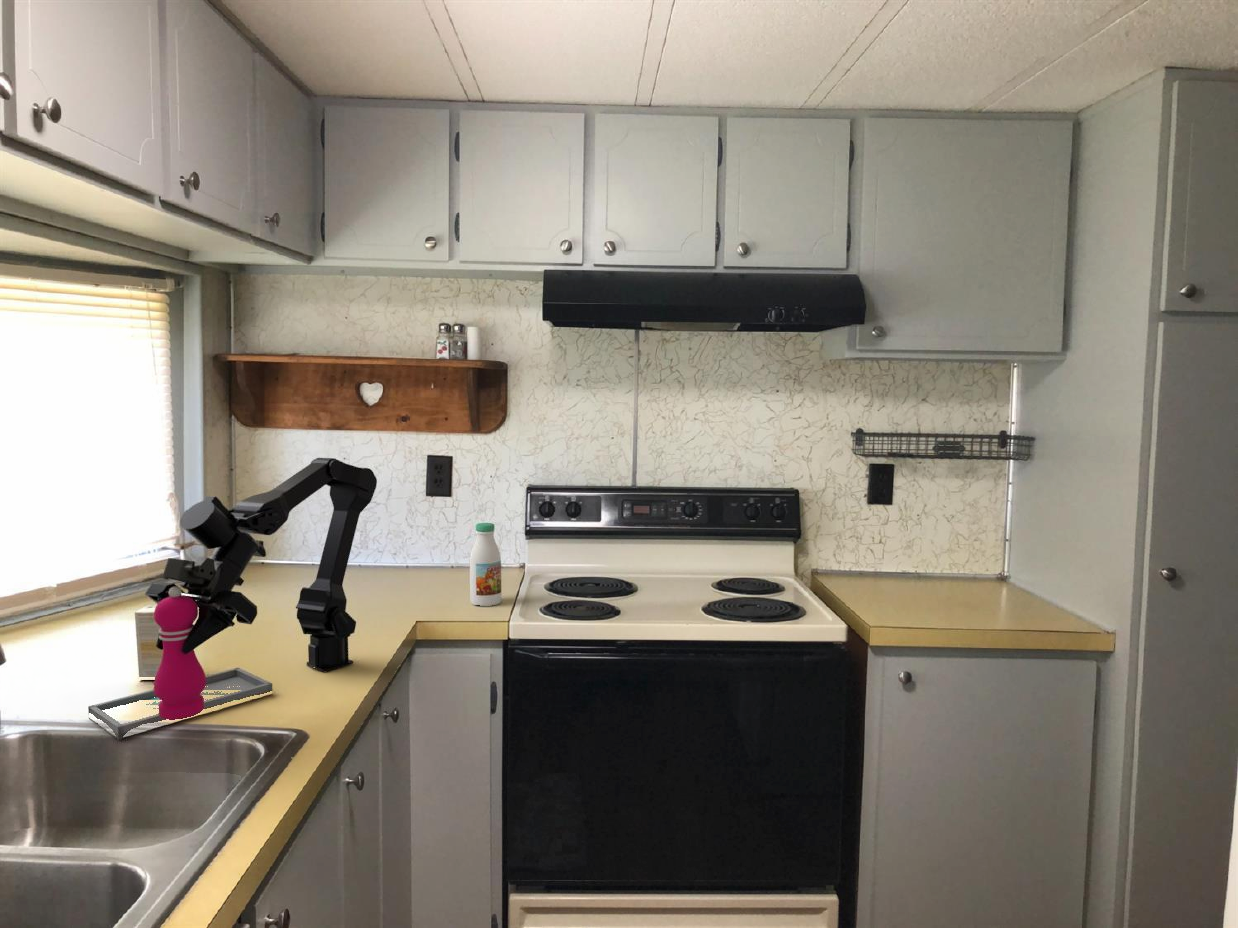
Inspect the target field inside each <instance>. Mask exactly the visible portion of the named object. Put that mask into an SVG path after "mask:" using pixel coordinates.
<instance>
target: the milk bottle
mask: <svg viewBox="0 0 1238 928" xmlns="http://www.w3.org/2000/svg"><path fill="white" fill-rule="evenodd" d="M475 533H476V537H475V541H474V545H473V546H472V549H471V552H470V555H469V556H470V557H469V598H470V599H469V600H470V601H469V602H470V604H471V603H472V604H473V606H475V605H480V606H479V607H492V605H493V606H496V605H499V604H501V603H502V559H501V552H500V549H499V547H498V545H497V543H496V541H495V535H494V534H495V524H494V522H493V523H492V522H480V523H476V524H475ZM472 604H471V605H472Z"/></svg>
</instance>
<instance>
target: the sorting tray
mask: <svg viewBox="0 0 1238 928" xmlns="http://www.w3.org/2000/svg"><path fill="white" fill-rule="evenodd" d="M205 676H206V687H205V688H204V690H241V691H238V692H234V693H230V694H228V693H226V694H225V693H222V694H221V692H222V691H221V692H219V691H217V692H215V691H214V693H215V694H214V693H209V694H208V692H206V693H204V692H202V693H201V694H200V695H224V696H220V697H216V698H213V699H209V700H208V699H207V700H206V699H205V700H206V701H204V709H207V708H211V707H214V706H217V705H222V704H224V703H227V702H231V701H233V700H240V699H243V698H246V697H250V696H254V695H260V694H264V693H267V692H270V691H273V690H274V689H273V683H272V682H270V681H268V680H266V679H264V678H262V677H259V676H258V675H255V674H253V673H251V672H249V671H246V670H244V669H242V668H240V667H235V668H231V669H227V670H223V671H219V672H216V673H215V672H214V673H211V674H209V675H205ZM207 686H208V687H207ZM229 686H230V688H229ZM233 686H234V687H233ZM237 686H238V687H237ZM239 686H240V687H239ZM227 687H228V688H227ZM218 692H219V693H218ZM154 697H155V698H154ZM139 700H160V699H159V698H158V697H157V696H156V695H155V693H154V689H150V690H146V691H142V692H139V693H135V694H131V695H127V696H123V697H119V698H116V699H111V700H108V701H105V702H100V703H95V704H92V705H88V707H87V708H88V714H89V713H91V714H93V715H94V716H95V717H96V718H97V719H100V720H102V721H103V722H104V723H106V724H107V725H108V726H109V727H110V728H111V729H112V730H113V732H114V733H115V735H116V738H115V739H116V740H118V741H119V740H123V736H124V735H125V734H126V733H127V732H128V731H130V730H131V729H133V728H136V727H138V726H140V725H142V724H147V723H154V722H158V721H162V720H166V719H163V718H161V717H160V716H159V713H158V714H156V715H153V716H149V717H146V718H142V719H139V720H135V721H132V722H128V723H124V724H120V723H119V722H118V721H116V720H115V719H113V718H112V717H110V716H109V715H107V714H106V713H105V712H103V711H102V710H105V709H110V708H113V707H117V706H120V705H126V704H129V703H133V702H137V701H139ZM160 702H161V701H160ZM160 702H158V703H156V701H155V702H153V703H152V704H150V703H149V704H150V705H159V703H160ZM149 704H146V705H149ZM153 709H156V708H153ZM157 709H159V708H157Z"/></svg>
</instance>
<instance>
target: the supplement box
mask: <svg viewBox="0 0 1238 928" xmlns="http://www.w3.org/2000/svg"><path fill="white" fill-rule="evenodd" d="M156 606H157V604H155V605H146V606H144V607H142V608H140V609H138V610H136V611H135V612H134V619H135V620H134V623H135V634H136V635H135V638H136V649H137V667H138V678H139V677H156V674H157V672H158V669H159V666H160V664H161V661H162V656H163V649H162V650H160V649H158V648H157V647H156V644H157V640H158V636H159V630H160V628H161V627H160V626H159V625H158V624H157V623H156V622H155V619H154V611H155V608H156Z"/></svg>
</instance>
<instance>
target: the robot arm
mask: <svg viewBox="0 0 1238 928" xmlns="http://www.w3.org/2000/svg"><path fill="white" fill-rule="evenodd" d="M377 483H378V479H377V477H376V475H375V473H374V472H373V470H372V469H371V468H368V467H359V466H355V465H352V464H348V463H346V462H344V461H341V460H339V459H337V458H330V457H316V458H315V459H312V460H311V462H310V464H308V465H307V466H305V467H304V468H302V469H300V470H299V471H298V472H296V473H295V474H293V475H292V476H291V477H289V478H288V479H286V480H284V481H283V482H282V483H280V484H279V485H276V487H274V488H273V489H270V490H269V491H266V492H262V493H258V494H254V495H251V496H249V497H246V498H244V499H241V500H239V501H238V502H237V503H236V504H235V505H234V506H233V507H232V508H231V509H230V508H229V509H228V508H227V507H225V505H224V504H223V502H222V501H221V500H220V498H219V497H217V496H215V495H214V496H213V495H211V496H210V495H205V498H204V499H202V500H201V501H200V502H196V503H195V504H194V505H191V507H189V508H188V509H186V510H184V512H183V513H182V515H181V516H180V519H179V525H180V527H181V528H182V529H183V530H184V531H186V533H188V534H189V535H190V536H191V537H192V538H193V539H194V540H196V542H198V543H199V544H200V545H201V546H202V547H203V548H204V549H208V550H212V549H214V550H213V551H212V552H211V554H210V556H209V557H204V556H199V557H197V558H196V559H195V561H194V560H187V559H183V558H182V559H181V558H180V559H179V558H173V557H172V558H171V557H169V558H167V561H166V564H165V567H164V570H163V573H162V576H161V579H164V580H174V581H177V582H180V584H179V586H180V587H182V588H183V589H185V590H187V592H185V591H184V590H183V589H181V591H182V593H181V596H187V597H190V598H191V599H193V600H194V601H195V603H196V604H197V607H198V616H197V618H196V620H195V622H194V623H193V625H194V626H193V628H192V630H191V631H190V633H189V635H188V637H187V638H186V640H185V642H184V644H183V646H182V649H181V652H183V653H184V654H188V653H189V652H190V651H192V650H193V649H194V650H195V649H197V648H198V647H199V646H201V645H202V644H203V643H206V642H207V641H208V640H210V639H211V638H213V637H214V636H216V635H218V634H219V633H221V632H223V631H224V630H226V629H227V628H229V627H234V626H235V624H236V623H235V622H234V619H235V618H236V621H237V623H240V624H246V625H252V624H253V623H254V621H255V619H256V618H257V616H258V606H257V605H256V604H255V603H254V602H253V601H251V600H250V599H249V598H248V597H247V596H245V595H244V594H243V592H241V591H234V590H233V589H234V587H235V586H239V587H241V586H242V585H243V584H244V582H245V580H244V579H243V578H242V575H243V573H244V572H245V570H246V568H247V566H248V565H249V563H250V562H251V560H252V559H253V557H259V558H261V557H262V558H265V557H267V552H266V549H265V545H264V541H263V540H257V539H255V538H254V537H253V536H252V535H263V536H271V535H273V534H276V533H277V532H278V531H279V529H280V528H282V526H283V525H284V524H285V523H286V522H287V521H288V519H289V517H290V516H289V515H290V512H291V511H292V510H293V509H294V508H295V507H297V506H298V505H300V504H301V503H303V502H304V501H305V500H307V499H308V498H310V497H311V496H312V495H314V494H315V493H316V492H317V491H319V490H321V488H323V487H325V486H328V487H330V488H329V497H330V499H331V503H332V506H333V511H332V514H331V519H330V522H329V527H328V530H327V534H326V537H325V542H324V546H323V550H322V554H321V558H320V561H319V566H318V569H317V574H316V577H315V580H314V582H312V584H311V585H310V586H309V587H307V586H305V587H304V586H303V587H302V588H301V589H300V593H299V599H298V601H297V604H296V606H295V609H297V611H296V619H297V620H298V622H299V625H300V628H301V631H302V633H303V635H310V636H309V644H308V645H307V647H308V648H307V649H308V650H307V651H308V652H307V653H308V655H307V657H308V661H307V662H306V666H308V665H309V667H310V666H311V668H313V667H315V668H317V669H319V670H318V671H320V670H321V671H320V672H322V671H326V672H329V671H332V670H331V669H333V670H336V669H339V668H338V667H340V668H342V667H346V666H350V665H353V664H354V660H351V659H350V658H349V637H351V635H353V634H354V633H355V630H356V627H357V621H356V620H355V619H354V618H353V617H352V616H351V615H350V614H349V613H348V612H347V611H346V609H347V602H348V601H347V600H348V599H347V597H346V593H345V590H344V588H343V583H344V579H345V577H346V576H345V575H346V573H347V572H346V571H347V567H348V563H349V559H350V556H351V555H350V554H351V550H352V547H353V542H354V539H355V534H356V530H357V526H358V522H359V518H360V515H361V513H362V512H363V511H364V510H365V509H366V507H368V505H370V503H371V502H372V499H373V497H374V495H375V492H376V489H377ZM251 534H252V535H251ZM174 586H177V584H175V583H174V582H173V583H172V582H164V581H157V582H153V583H151V584H150V586H149V587H148V589H147V590H146V591H145V593H144V595H145V596H147V598H149V599H150V600H152V601H153V602H154V603H156V605H157V604H158V603H159V602H160V601H162V600H163V599H165V598H168V597H170V596H169V590H170V588H172V587H174ZM179 586H177V587H179ZM160 629H161V628H160ZM159 636H160V633H159ZM159 636H158V640H157V644H156V647H157V648H158V649H160V650H162V649H163V642H162V640H161V639H159ZM315 668H314V669H315ZM335 668H336V669H335ZM317 669H316V670H317ZM328 670H329V671H328Z"/></svg>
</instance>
